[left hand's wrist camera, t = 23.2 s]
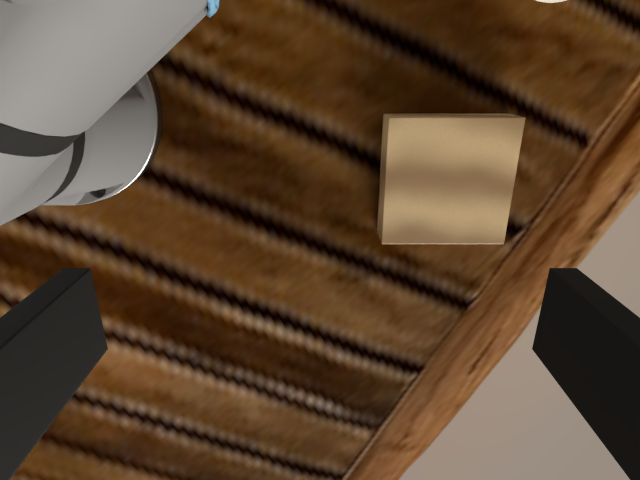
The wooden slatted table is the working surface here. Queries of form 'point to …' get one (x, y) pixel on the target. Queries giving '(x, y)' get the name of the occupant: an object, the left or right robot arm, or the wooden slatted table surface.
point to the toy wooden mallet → (550, 1)
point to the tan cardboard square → (447, 177)
